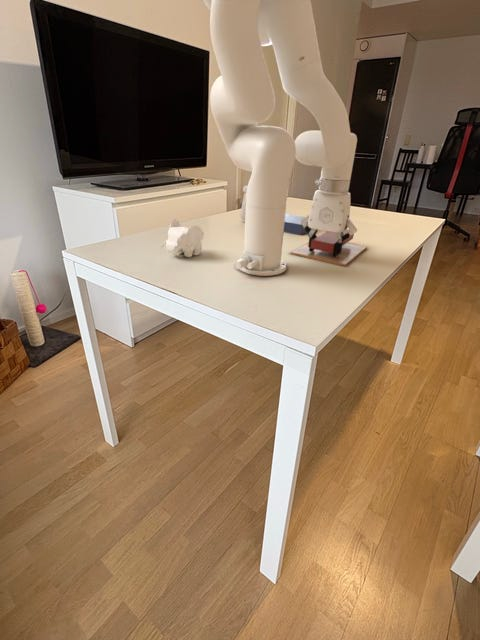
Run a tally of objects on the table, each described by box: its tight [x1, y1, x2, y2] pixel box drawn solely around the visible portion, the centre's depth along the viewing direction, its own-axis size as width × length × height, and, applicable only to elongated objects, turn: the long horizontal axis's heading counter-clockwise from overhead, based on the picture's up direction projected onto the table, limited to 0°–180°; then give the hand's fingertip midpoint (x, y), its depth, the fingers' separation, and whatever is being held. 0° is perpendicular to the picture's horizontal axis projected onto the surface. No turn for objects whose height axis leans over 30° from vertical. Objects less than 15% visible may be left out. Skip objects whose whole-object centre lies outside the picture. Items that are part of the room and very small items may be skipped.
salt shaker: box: [239, 184, 248, 224], centre depth 128 cm, size 6×6×13 cm
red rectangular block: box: [311, 228, 355, 253], centre depth 101 cm, size 18×6×2 cm, turn 146°
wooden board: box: [290, 242, 367, 267], centre depth 102 cm, size 20×16×1 cm
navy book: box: [284, 213, 307, 236], centre depth 125 cm, size 12×17×4 cm
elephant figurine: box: [160, 218, 205, 258], centre depth 92 cm, size 10×12×9 cm
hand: (323, 252), depth 98 cm, fingers closed on red rectangular block, 6 cm apart
